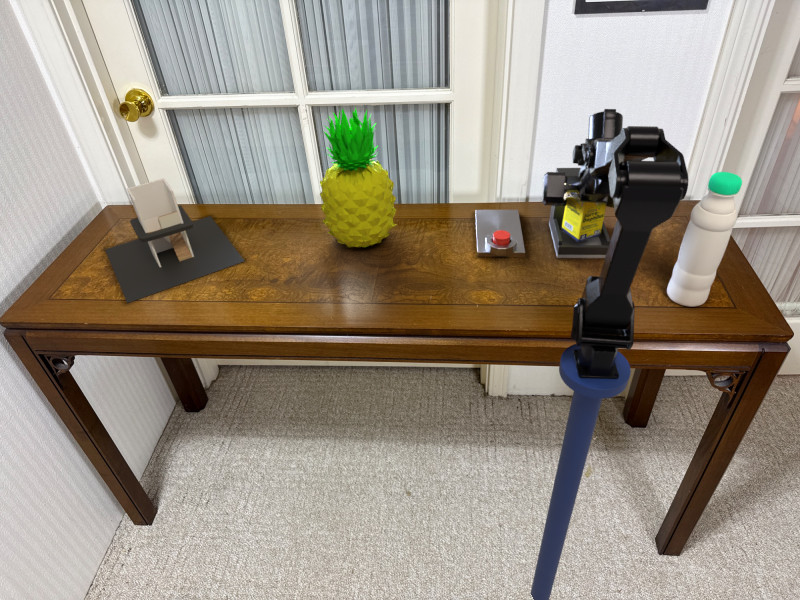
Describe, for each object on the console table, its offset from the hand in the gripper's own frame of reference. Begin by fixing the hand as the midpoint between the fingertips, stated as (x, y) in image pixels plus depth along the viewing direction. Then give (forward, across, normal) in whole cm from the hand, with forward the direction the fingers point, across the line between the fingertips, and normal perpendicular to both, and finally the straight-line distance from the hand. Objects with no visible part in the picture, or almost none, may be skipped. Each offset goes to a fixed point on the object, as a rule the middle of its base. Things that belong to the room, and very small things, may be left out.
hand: (584, 202), depth 118 cm
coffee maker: (+7, 0, +6) cm, 10 cm away
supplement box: (+4, 0, +6) cm, 7 cm away
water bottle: (-5, -18, +20) cm, 27 cm away
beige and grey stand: (-2, +89, +17) cm, 91 cm away
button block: (+8, +17, +6) cm, 20 cm away
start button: (+1, +17, +9) cm, 19 cm away
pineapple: (+5, +48, +9) cm, 49 cm away
